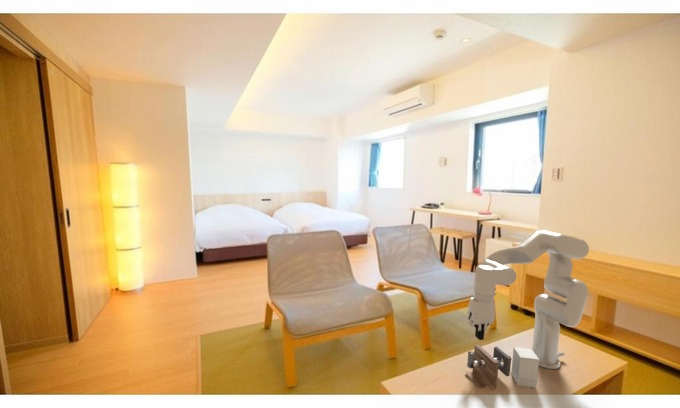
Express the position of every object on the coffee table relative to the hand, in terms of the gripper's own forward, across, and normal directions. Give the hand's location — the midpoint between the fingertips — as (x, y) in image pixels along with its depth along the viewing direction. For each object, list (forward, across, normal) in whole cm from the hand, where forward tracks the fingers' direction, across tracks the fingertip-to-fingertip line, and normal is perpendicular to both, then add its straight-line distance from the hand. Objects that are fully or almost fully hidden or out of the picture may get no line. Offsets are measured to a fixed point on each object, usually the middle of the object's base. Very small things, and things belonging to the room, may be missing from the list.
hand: (479, 338), depth 121 cm
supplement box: (+19, -20, +4) cm, 28 cm away
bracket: (+19, -2, 0) cm, 19 cm away
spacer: (+16, -12, 0) cm, 20 cm away
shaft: (+12, -6, 0) cm, 14 cm away
